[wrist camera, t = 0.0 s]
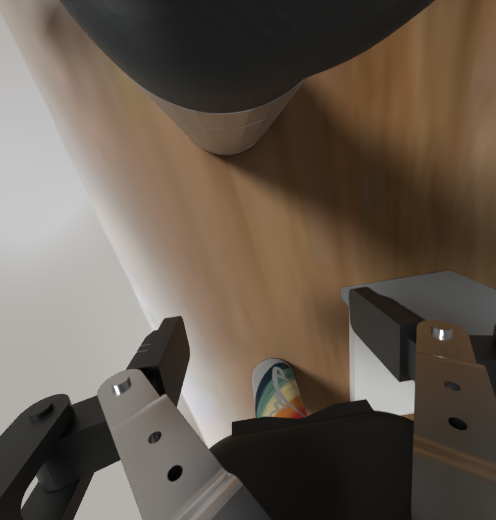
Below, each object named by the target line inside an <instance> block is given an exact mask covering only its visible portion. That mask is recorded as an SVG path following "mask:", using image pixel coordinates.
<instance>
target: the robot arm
mask: <svg viewBox="0 0 496 520" xmlns="http://www.w3.org/2000/svg"><path fill="white" fill-rule="evenodd" d="M434 1H435V0H60V2H61V3H62V4H63V6H64V7H65V9H66V10H67V11H68V12H69V14H70V15H71V16H72V17H73V18H74V19H75V21H76V22H77V23H78V24H79V25H80V27H81V28H82V29H83V30H84V31H85V32H86V34H87V35H88V36H89V37H90V38H91V39H92V40H93V41H94V42H95V43H96V44H97V45H98V46H99V48H100V49H101V50H102V51H103V52H104V53H105V54H106V55H107V56H108V57H109V58H110V59H111V60H112V61H113V62H114V63H115V64H116V65H117V66H118V67H119V68H120V69H121V70H122V71H123V72H124V73H125V74H126V75H127V76H128V77H129V78H130V79H131V80H132V81H133V82H134V83H135V84H136V85H137V86H138V87H139V88H140V89H141V90H142V91H143V92H144V93H145V94H146V95H147V96H148V97H149V98H150V99H151V100H152V101H153V102H154V103H155V104H156V105H157V106H158V107H159V108H160V109H161V110H162V111H163V112H164V113H165V114H166V115H167V116H168V117H169V118H170V119H171V120H172V121H173V122H174V123H175V124H176V125H177V126H178V127H179V128H180V129H181V130H182V131H183V132H184V133H185V134H186V135H187V136H188V137H189V138H190V139H191V140H192V141H193V142H194V143H195V144H196V145H198V146H199V147H201V148H202V149H203V150H206V151H208V152H210V153H213V154H218V155H234V154H238V153H241V152H243V151H245V150H247V149H249V148H250V147H252V146H253V145H254V144H255V143H256V142H257V141H258V140H259V139H260V138H261V136H262V135H263V134H264V133H265V132H266V130H267V129H268V128H269V127H270V125H271V124H272V123H273V122H274V120H275V119H276V118H277V116H278V115H279V114H280V113H281V111H282V110H283V109H284V107H285V106H286V105H287V104H288V102H289V101H290V100H291V98H292V97H293V96H294V95H295V93H296V92H297V91H298V89H299V88H300V87H301V85H302V84H303V83H304V81H305V80H306V79H307V78H308V77H309V76H312V75H315V74H317V73H320V72H323V71H325V70H328V69H330V68H333V67H335V66H337V65H339V64H341V63H344V62H346V61H348V60H350V59H352V58H354V57H356V56H357V55H359V54H361V53H363V52H365V51H366V50H368V49H370V48H371V47H373V46H374V45H376V44H377V43H379V42H380V41H382V40H383V39H385V38H386V37H388V36H389V35H390V34H392V33H393V32H394V31H396V30H397V29H399V28H400V27H401V26H403V25H404V24H405V23H407V22H408V21H409V20H411V19H412V18H413V17H414V16H416V15H417V14H418V13H420V12H421V11H422V10H423V9H425V8H426V7H427V6H429V5H430V4H431V3H432V2H434ZM349 313H350V323H351V327H352V329H353V331H354V332H355V334H356V335H357V336H358V337H359V338H360V339H361V340H362V341H363V342H364V344H365V345H366V346H367V347H368V348H369V349H370V350H371V351H372V352H373V354H374V355H375V356H376V357H377V358H378V359H379V360H380V361H381V362H382V364H383V365H384V366H385V367H386V368H387V369H388V370H389V371H390V372H391V374H392V375H393V376H394V377H395V378H396V379H397V380H398V381H399V382H404V381H410V380H413V381H414V382H415V399H414V421H412V420H410V419H408V418H405V417H402V416H399V415H397V414H393V413H389V412H383V411H375V410H373V408H372V407H371V405H370V404H369V402H368V401H367V399H364V400H358V401H352V402H346V403H340V404H335V405H332V406H329V407H327V408H325V409H323V410H320V411H318V412H316V413H314V414H311V415H309V416H307V417H304V418H284V417H267V416H264V417H259V418H253V419H247V420H241V421H235V422H232V435H230V436H228V437H226V438H224V439H222V440H221V441H219V442H218V443H216V444H215V445H213V446H212V447H211V448H210V449H208V448H207V446H206V445H205V444H204V442H203V441H202V440H201V438H200V437H199V436H198V435H197V433H196V432H195V431H194V430H193V428H192V427H191V426H190V424H189V423H188V422H187V420H186V419H185V418H184V417H183V415H182V414H181V413H180V411H179V410H178V409H177V404H178V400H179V396H180V393H181V389H182V385H183V381H184V377H185V374H186V370H187V366H188V362H189V358H190V349H189V343H188V339H187V335H186V330H185V326H184V322H183V319H182V317H181V316H177V317H171V318H165V319H164V320H163V322H162V324H161V325H160V327H159V329H158V330H155V331H153V332H152V333H151V334H149V335H148V336H147V337H146V338H145V339H144V341H143V343H142V344H141V346H140V347H139V349H138V351H137V353H136V354H135V356H134V357H133V359H132V360H131V362H130V364H129V365H128V367H127V369H126V370H125V371H122V372H119V373H117V374H115V375H113V376H111V377H110V378H109V379H107V380H106V381H105V382H104V383H103V384H102V385H101V386H100V388H99V390H98V392H97V396H94V397H92V398H89V399H86V400H84V401H81V402H78V403H76V404H73V405H72V404H71V401H70V399H69V397H68V395H65V394H57V395H53V396H50V397H47V398H45V399H43V400H40V401H38V402H37V403H35V404H33V405H32V406H30V407H29V408H27V409H26V410H25V411H24V412H23V413H21V414H20V415H19V416H18V417H17V419H16V420H14V422H13V423H12V424H11V425H10V426H9V427H8V428H7V429H6V430H5V432H4V433H3V434H2V435H1V436H0V520H73V519H74V517H75V515H76V512H77V510H78V508H79V506H80V503H81V501H82V499H83V497H84V494H85V492H86V490H87V488H88V485H89V483H90V481H91V479H92V476H93V474H94V472H96V471H98V470H100V469H102V468H105V467H107V466H109V465H111V464H113V463H115V462H117V461H119V460H121V462H122V465H123V467H124V470H125V473H126V476H127V478H128V481H129V484H130V487H131V489H132V492H133V495H134V498H135V500H136V503H137V506H138V508H139V511H140V514H141V517H142V519H143V520H496V324H495V325H494V331H493V335H468V332H467V331H466V330H465V329H463V328H462V327H460V326H458V325H456V324H453V323H450V322H446V321H440V320H425V319H423V318H422V317H420V316H419V315H417V314H416V313H414V312H412V311H411V310H409V309H407V308H406V307H405V306H403V305H400V303H398V302H397V301H395V300H394V299H392V298H389V297H386V296H383V295H379V294H378V293H376V292H375V291H373V290H372V289H370V288H369V287H360V288H354V289H350V290H349ZM35 476H36V477H37V478H38V481H39V482H38V483H37V485H36V487H35V488H34V490H33V491H32V493H31V494H30V496H29V498H28V499H27V501H26V502H25V504H24V506H23V507H22V509H21V502H22V499H23V496H24V494H25V491H26V490H27V488H28V486H29V485H30V483H31V482H32V480H33V479H34V477H35Z"/></svg>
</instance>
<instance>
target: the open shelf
mask: <svg viewBox="0 0 496 520" xmlns="http://www.w3.org/2000/svg"><path fill="white" fill-rule="evenodd" d="M360 287H369V288H370V289H372V290H373V291H375V292H376V293H378V294H379V295H383V296H386V297H389V298H392V299H394V300H395V301H397V302H398V303H400V305H403V306H405V307H406V308H407V309H409V310H411V311H412V312H414V313H416V314H417V315H419V316H420V317H422V318H423V319H425V320H440V321H446V322H450V323H453V324H456V325H458V326H460V327H462V328H463V329H465V330H466V331H467V332H468V335H493V331H494V325H495V324H496V289H493V288H491V287H488V286H486V285H484V284H481V283H479V282H476V281H474V280H472V279H469V278H467V277H465V276H462V275H460V274H457V273H455V272H453V271H450V270H449V271H442V272H436V273H430V274H424V275H418V276H411V277H405V278H399V279H393V280H387V281H380V282H374V283H368V284H362V285H356V286H349V287H343V288H341V299H342V300H343V301H344V302H345V303H346V304H347V305H348V306H349V290H350V289H354V288H360Z"/></svg>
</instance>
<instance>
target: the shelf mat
mask: <svg viewBox="0 0 496 520" xmlns="http://www.w3.org/2000/svg"><path fill="white" fill-rule="evenodd" d="M349 352H350V402H352V401H358V400H364V399H367V401H368V402H369V404H370V405H371V407H372V408H373V410H375V411H383V412H389V413H393V414H397V415H405V414H411V413H414V399H415V382H414V381H413V380H410V381H404V382H399V381H398V380H397V379H396V378H395V377H394V376H393V375H392V374H391V372H390V371H389V370H388V369H387V368H386V367H385V366H384V365H383V364H382V362H381V361H380V360H379V359H378V358H377V357H376V356H375V355H374V354H373V352H372V351H371V350H370V349H369V348H368V347H367V346H366V345H365V344H364V342H363V341H362V340H361V339H360V338H359V337H358V336H357V335H356V334H355V332H354V331H353V329H352V327H351V323H350V313H349Z"/></svg>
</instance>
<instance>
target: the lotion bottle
mask: <svg viewBox="0 0 496 520" xmlns="http://www.w3.org/2000/svg"><path fill="white" fill-rule="evenodd" d="M252 385H253V395H254V404H255V413H256V418H259V417H264V416H267V417H284V418H304V417H307V414H306V411H305V408H304V405H303V402H302V398H301V395H300V392H299V389H298V386H297V383H296V380H295V377H294V374H293V372H292V369H291V367H290V366H289V365H288V364H287V363H286V362H285V361H283V360H281V359H275V358H272V359H267V360H264V361H262V362H260V363H259V364H258V365H257V366H256V367H255V369H254V370H253V374H252Z"/></svg>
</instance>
